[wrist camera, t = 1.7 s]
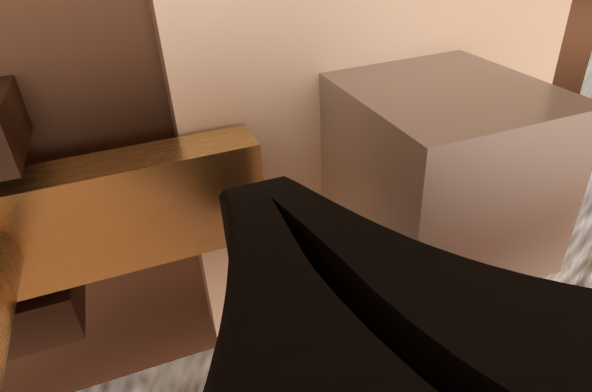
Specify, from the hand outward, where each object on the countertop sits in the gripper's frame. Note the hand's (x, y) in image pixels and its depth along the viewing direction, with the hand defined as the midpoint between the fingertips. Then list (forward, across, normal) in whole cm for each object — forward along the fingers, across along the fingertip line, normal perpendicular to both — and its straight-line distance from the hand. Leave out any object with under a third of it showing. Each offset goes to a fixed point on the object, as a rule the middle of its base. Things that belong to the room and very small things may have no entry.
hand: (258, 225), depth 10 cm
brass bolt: (+2, +3, 0) cm, 4 cm away
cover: (+4, -4, 0) cm, 6 cm away
